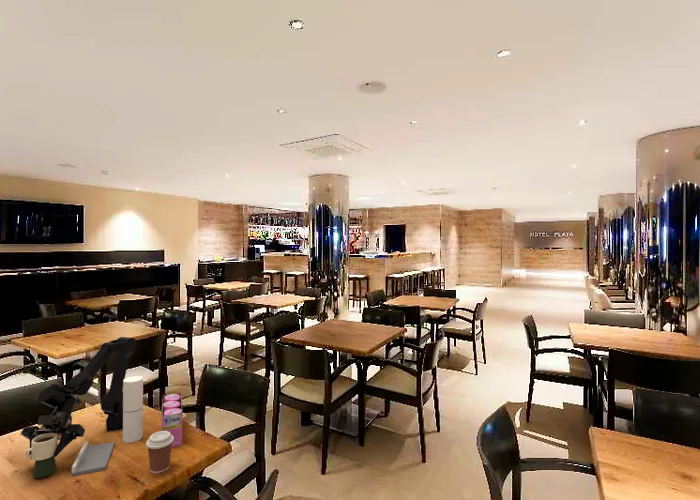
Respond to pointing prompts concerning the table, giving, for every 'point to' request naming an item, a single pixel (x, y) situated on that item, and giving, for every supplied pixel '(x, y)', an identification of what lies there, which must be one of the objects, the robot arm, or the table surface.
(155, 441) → the coffee cup
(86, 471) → the shelf board
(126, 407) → the cylindrical container
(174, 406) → the gum box
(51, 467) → the character mug
